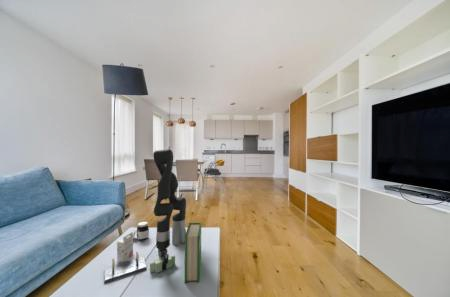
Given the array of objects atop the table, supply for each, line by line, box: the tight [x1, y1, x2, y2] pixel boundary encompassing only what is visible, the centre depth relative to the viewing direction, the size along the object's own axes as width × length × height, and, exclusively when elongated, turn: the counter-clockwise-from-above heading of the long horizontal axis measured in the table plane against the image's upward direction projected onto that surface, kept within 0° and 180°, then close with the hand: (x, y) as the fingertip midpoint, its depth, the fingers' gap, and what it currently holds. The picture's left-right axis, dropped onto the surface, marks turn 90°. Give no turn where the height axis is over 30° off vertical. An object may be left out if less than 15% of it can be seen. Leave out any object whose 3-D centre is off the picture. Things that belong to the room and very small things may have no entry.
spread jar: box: [133, 221, 150, 241], centre depth 141 cm, size 12×11×12 cm
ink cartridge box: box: [116, 231, 134, 262], centre depth 116 cm, size 9×5×15 cm, turn 168°
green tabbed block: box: [149, 254, 176, 274], centre depth 105 cm, size 14×4×5 cm, turn 124°
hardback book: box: [184, 222, 202, 284], centre depth 103 cm, size 18×7×24 cm, turn 4°
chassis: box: [103, 251, 147, 284], centre depth 104 cm, size 20×12×8 cm, turn 124°
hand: (162, 267), depth 105 cm, fingers closed on green tabbed block, 4 cm apart
